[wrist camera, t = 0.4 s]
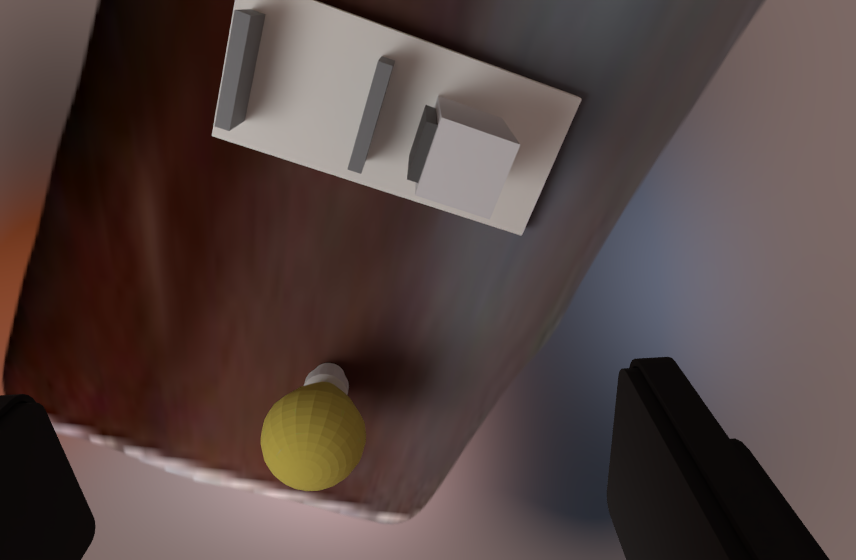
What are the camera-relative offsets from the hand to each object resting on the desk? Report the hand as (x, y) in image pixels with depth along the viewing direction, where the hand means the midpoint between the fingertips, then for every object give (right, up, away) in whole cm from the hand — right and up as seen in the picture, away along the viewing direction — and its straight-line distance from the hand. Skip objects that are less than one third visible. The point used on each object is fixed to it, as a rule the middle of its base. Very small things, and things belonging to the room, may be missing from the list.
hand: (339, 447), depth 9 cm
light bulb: (-6, -4, +34) cm, 35 cm away
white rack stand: (0, +13, +25) cm, 28 cm away
